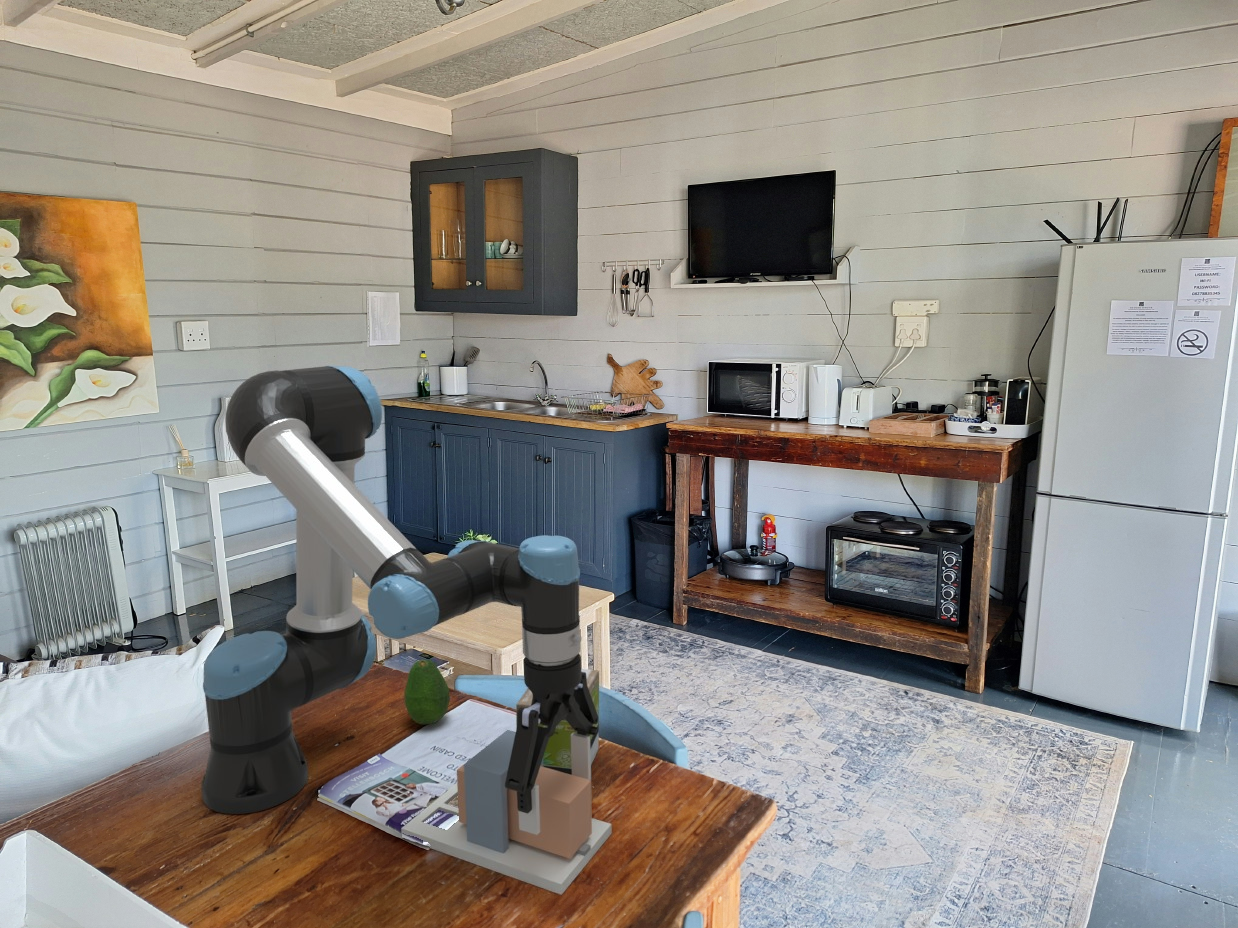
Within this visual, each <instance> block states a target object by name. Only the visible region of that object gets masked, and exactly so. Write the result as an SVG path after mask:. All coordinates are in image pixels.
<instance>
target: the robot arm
mask: <svg viewBox="0 0 1238 928" xmlns="http://www.w3.org/2000/svg"><path fill="white" fill-rule="evenodd" d="M382 420H383V408H382V403H381V399H380V396H379V393H378V390H377V389H376V387H375V386H374V385H373V384H372V382H371V380H370V378H368V376H367V375H366V374H365V373H363V372H362V371H360V370H359V369H357V368H354V367H351V366H334V365H333V366H332V365H324V366H317V367H316V366H315V367H306V368H295V369H287V370H286V369H285V370H268V371H263V372H259V373H257V374H255V375H252V376H250V377H249V378H247V379H245V380H244V381H243V382H242V383H241V384H240V385H239V386H238V387H237V388H236V389H235V390H234V392H233V393H232V396H230V399H229V401H228V403H227V406H226V411H225V419H224V423H225V424H224V425H225V432H226V436H227V440H228V442H229V444H230V447H231V450H232V451H233V452H234V454H235V456H236V457H237V458H238V460H239V461H240V462H241V463H242V464H243V465H244V466H245V468H247V470H249V472H251V473H252V474H253V475H256V476H261V477H265V478H267V480H268V481H269V482H271V484H272V486H274V487H275V488H276V489H277V490H278V491H279V492H280V493H281V494H282V496H283V497H284V498H285V499H286V500H287V501H288V502H289V503H290V504H291V505H292V506H293V507H294V509H296V511H295V512H296V513H295V514H296V515H295V516H296V517H295V518H296V525H295V527H296V528H295V529H296V537H295V538H296V548H295V549H296V550H295V551H296V559H295V560H296V571H295V572H296V576H295V577H296V589H295V590H296V605H294V606H293V607H292V608H291V609H290V610H289V611H288V612H287V613H286V617H285V618H286V621H285V622H286V626H285V628H286V629H285V631H286V632H285V633H284V634H281V633H279V632H276V631H273V630H258V631H253V633H248V632H246V633H243V634H239V635H237V636H234V637H232V638H230V639H227V640H225V641H224V642H222V643H220V644H219V645H217V646H216V647H214V649H213V650H211V651H210V652H209V653H208V655H207V657H206V659H205V661H204V663H203V682H202V690H203V693H204V698H205V706H206V707H205V708H206V717H207V725H208V734H209V735H208V736H209V742H210V743H209V744H210V751H209V754H208V760H207V765H206V769H205V773H204V775H203V778H202V781H201V794H202V801H203V804H204V806H206V807H207V808H208V809H210V810H211V811H214V812H216V813H220V814H226V815H230V814H231V815H240V814H241V815H243V814H250V813H251V814H252V813H257V812H260V811H264V810H268V809H270V808H273V807H276V806H278V805H281V804H283V803H284V802H286V801H288V800H290V799H292V798H294V796H296V795H297V794H298V793H299V792H301V791H302V789H303V788H305V786H306V785H307V782H308V778H309V769H308V762H307V759H306V757H305V755H304V752H303V750H302V748H301V746H300V744H299V742H298V740H297V737H296V736H295V733H294V731H293V722H292V719H293V718H292V712H293V711H294V710H295V709H297V708H300V707H302V706H304V705H306V704H309V703H312V702H313V701H316V700H317V699H320V698H322V697H324V696H326V695H328V694H331V693H333V692H335V691H337V690H341V689H345V688H347V687H349V686H350V685H352V684H353V683H354V682H356V681H358V680H360V679H362V678H364V677H365V676H366V674H368V672H369V671H370V670H371V668H372V667H373V664H374V661H375V658H376V654H377V640H376V635H375V633H374V632H372V629H373V627H372V625H371V623H370V621H369V620H368V618H367V617H365V615H363V614H362V610H361V609H360V607H358V606H357V605H356V604H355V603H353V577H354V576H353V575H354V573H355V575H357V577H358V578H359V579H360V580H361V581H362V582H363V584H365V585H366V586H367V587H368V589H369V590H370V591H369V593H368V597H367V609H368V613H369V615H370V616H371V617H372V618H373V625H374V626H375V629H376V630H377V631H379V632H380V633H381V634H382V635H384V636H385V637H387V638H390V639H394V640H400V639H401V640H402V639H404V638H410V637H411V636H414V635H419V634H423V633H425V632H428V631H430V630H431V629H432V628H433V627H435V626H438V625H440V624H443V623H445V622H447V621H449V620H451V619H454V618H456V617H458V616H462V615H465V614H466V613H469V612H472V611H474V610H476V609H479V608H481V607H483V606H485V605H488V604H489V603H490V604H491V603H499V604H504V605H509V606H514V607H520V610H521V630H522V634H521V635H522V640H521V641H522V654H523V655H524V658H523V679H524V680H523V681H524V684H525V686H526V687H527V689H528V688H529V689H530V691H531V692H532V694H533V698H532V703H531V706H530V707H529V708H523V707H520V708H519V709H518V712H517V729H516V730H515V732H516V733H515V738H514V743H513V748H512V753H511V757H510V762H509V767H508V772H507V777H506V781H505V788H507V789H511V790H514V791H517V808H518V811H519V830H522V831H526V832H529V833H532V834H535V835H538V834H539V833H540V810H539V785H536V784H535V781H536V778H537V775H538V772H539V769H540V765H541V762H542V759H543V756H544V753H545V749H546V746H547V743H548V740H549V738H550V737H551V736H553V735H554V732H555V729H556V726H557V725H558V724H559V723H560V721H562V720H564V719H566V721H567V722H568V723H569V724H570V726H571V727H572V728H573V729H574V730H575V731H577V733H572V734H571V762H572V775H574V776H577V777H581V778H584V779H588V780H592V768H591V767H592V764H591V755H590V735H596V734H597V730H598V729H597V727H594V726H593V724H597V723H598V721H599V720H600V716H599V717H598V714H597V712H596V709H595V706H594V703H593V700H592V698H591V695H590V692H589V689H588V686H587V678H586V673H585V672H581V669H582V656H581V655H580V654H579V653H580V652H581V642H582V636H581V626H580V625H581V624H580V623H581V622H580V621H581V619H580V618H581V617H580V616H581V615H580V575H581V569H580V567H579V555H578V547H577V544H576V543H575V541H573V540H572V539H570V538H568V537H566V536H561V535H549V534H548V535H547V534H546V535H545V534H543V535H537V536H533V537H529V538H526V539H524V540H523V541H522V542H521V543H520V545H519V548H517V547H514V546H508V545H502V544H499V543H494V542H492V541H486V540H473V539H472V540H471V539H468V540H463V541H461V542H458V543H457V544H456V545H455V546H454V548H453V549H452V550H450V551H449V553H448V554H447V557H445V558H441V559H439V560H436V561H433V562H431V561H430V560H429V559H427V557H426V556H425V555H424V554H423V553H422V552H420V551H419V550H418V549H417V548H416V546H414V544H412V542H411V541H410V540H408V539H407V537H405V535H404V534H403V533H402V532H401V531H400V530H399V529H398V528H397V527H395V525H394V524H393V523H392V521H390V520H389V519H388V518H387V517H386V516H385V515H384V514H383V512H381V511H380V510H379V508H377V507H376V506H375V504H374V503H372V501H371V500H370V499H369V498H368V497H367V496H366V495H365V494H364V493H363V492H362V491H361V490H360V489H359V488H358V487H357V486H356V485H355V467H356V465H357V464H358V462H360V461H361V460H362V459H363V458H364V457H365V454H366V452H365V451H366V439H370V438H371V437H373V436H374V435H375V434H376V433H377V430H380V427H381V424H382ZM599 722H600V721H599ZM539 723H540V724H541V725H544V726H548V727H547V728H544V727H540V726H538V724H539Z"/></svg>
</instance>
